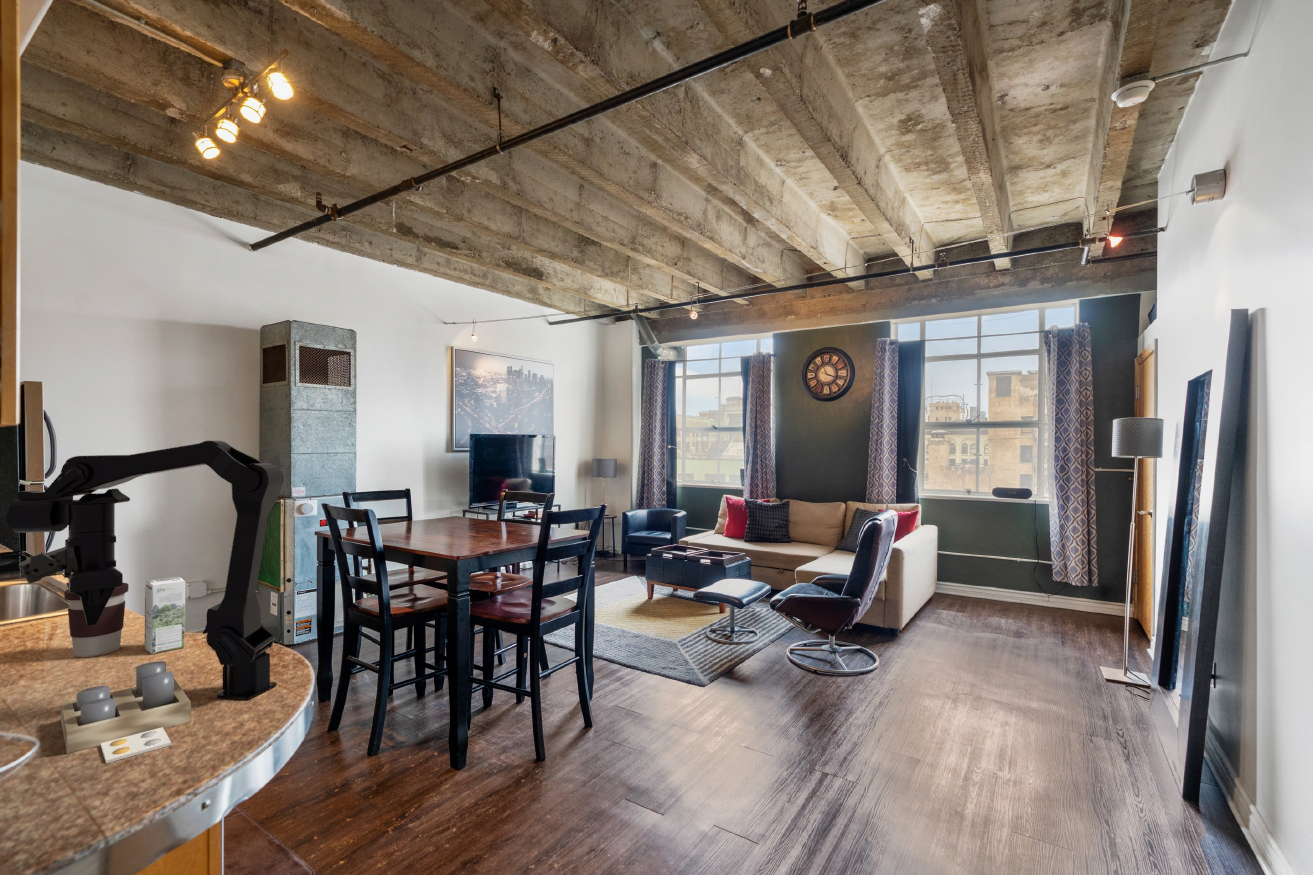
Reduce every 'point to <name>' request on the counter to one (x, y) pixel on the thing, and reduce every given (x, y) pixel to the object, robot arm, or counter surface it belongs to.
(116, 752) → the pattern tile
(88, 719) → the button
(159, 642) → the syrup box
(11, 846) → the counter surface
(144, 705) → the button
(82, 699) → the button
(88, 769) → the counter surface
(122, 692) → the button board
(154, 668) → the button
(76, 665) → the counter surface
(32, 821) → the counter surface
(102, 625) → the coffee cup
